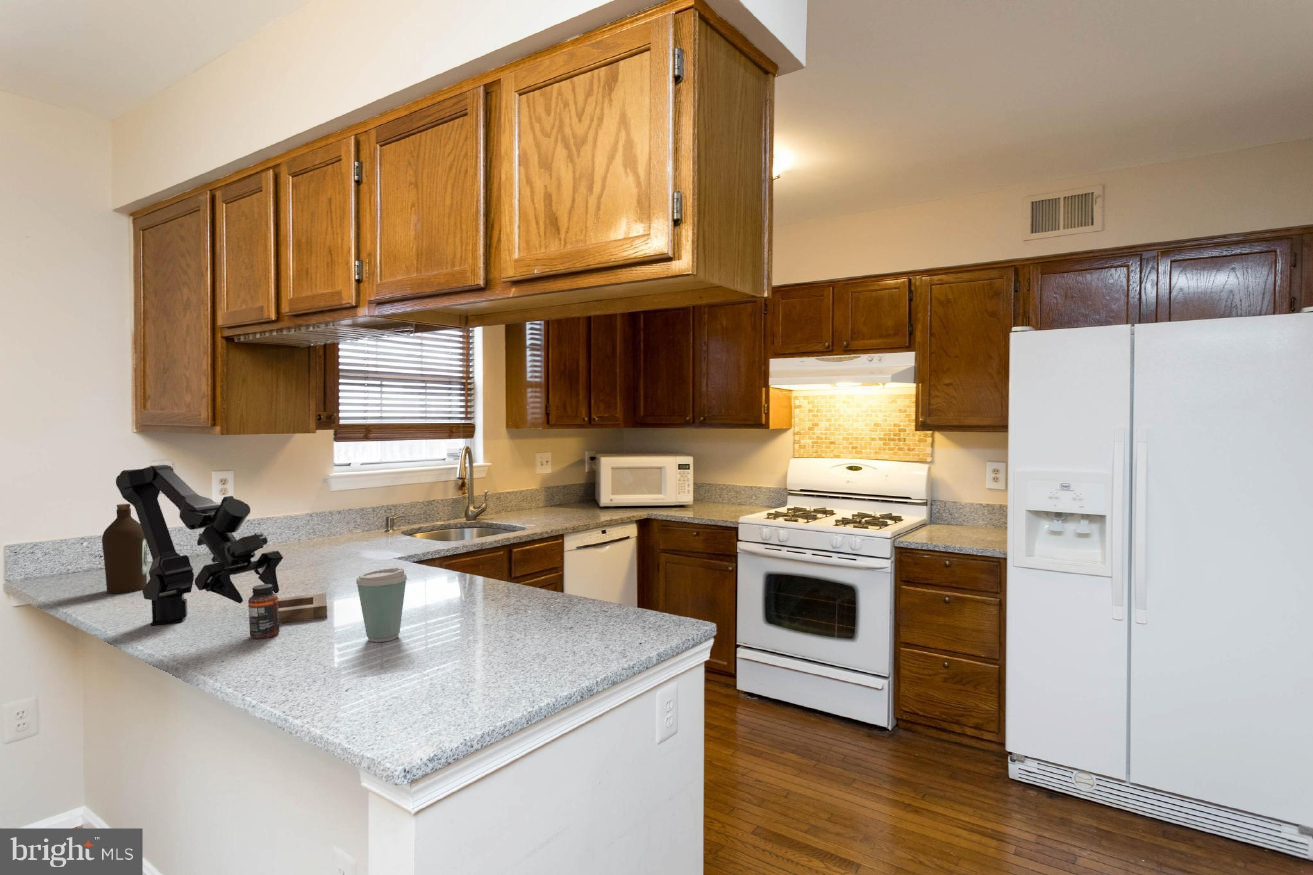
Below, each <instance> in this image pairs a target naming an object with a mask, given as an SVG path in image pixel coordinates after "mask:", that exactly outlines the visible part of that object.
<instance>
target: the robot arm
mask: <svg viewBox="0 0 1313 875" xmlns="http://www.w3.org/2000/svg"><path fill="white" fill-rule="evenodd" d="M115 485H116V487H117V489H118V491H119V493H120V495H121V497H122V499H124V500H125V501H127V502H128V504H130V505H131V506H133V507H134V510H135V512H136V515H137V518H138V521H139V523H140V524H141V527H142V530H143V533H144V536H145V539H146V542H147V548H148V549H149V552H150V556H151V558H152V562H151V565H150V567H149V571H148V574H149V580H147V584H146V586H145V587H144V589H143V590H141V591H142V595H143V599H144V600H149V601H151V622H150V626H156V625H164V624H175V623H181V622H184V620H185V619H186V618H187V616H188V614H189V613H188V599H187V598H185V594H188V593H192V588H193V584H194V585H195V587H197V588H196V589H198V591H203V590H205V591H206V592H211V593H214V594H217V595H220V596H222V597H224V598H227V599H229V600H231V601H233V602H234V603H237V604H242V603H243V602H244V599H243V597H242V595H241V593H240V592H239V590H238V589H237V587H236V586H235V584H234V583H233V581H232V579H231V576H234V575H239V574H243V573H247V572H251V571H253V572H254V573H255V575H258V577H257V579H258V580H259V581H261V582H262V584H271V585H272V587H273V591H272V592H273V593H275V594H279V592H280V588H279V583H278V579H277V577H278V576H277V567H278V566H279V565H280V563H281V562H282V560H283V559H284V556H283V555H282V554H281V552H280V551H279V550H271V551H268V552H267V551H266V552H262V553H261V554H260V555H259V557H258V559H257V560H253V561H252V559H253V558H254V557H256V553H255V552H257V551H258V550H260V549H263V548H264V546H266V545H267V544H268V541H269V540H268V538H267V535H265V533H264V532H263V531H259V532H254V534H252V535H246V536H243V537H241V538H238V539H237V538H236V536H235V535H234V534H233V533H236V532H237V531H239V530H240V529H241V527H242V525H243V524H244V522H245V521H246V519H247V517H248V516H249V515H250V514H251V507H250V505H249V504H248V503H245V502H244V501H243V500H240V499H237V498H235V497H234V496H233V495H228V496H223V498H222V499H221V502H220V504H219V503H217V502H216V501H214V500H213V499H212V498H209V497H205V496H202V495H199V494H198V493H197V492H196V491H195V490H194V489H192V487H191V486H189V485H188V484H187V483H186V482H185V480H183V479H182V478H181V477H180V476H179V475H177V473H175V471H174V469H173V467H172V466H171V465H168V464H158V465H150V466H147V467H144V468H137V469H123V470H122V471H120V473H119V475H117V476H116V478H115ZM160 493H162V494H163V495H164V496H165V497H166V498H167V499H168V500H169V501H170V502H171V503H172V504H173V505H174V506H175V507H177V509H178V510H179V515H178V516H179V519H180V520H181V522H182V523H183V525H184V526H185V527H186V528H187V529H188V530H191V531H192V530H193V531H195V530H201V529H203V530H202V532H201V533H199V534H198V538H197V543H196V544H197V546H198V547H199V546H200V547H201V546H204V545H206V547H207V548H208V550H209V551H210V553H211V554H212V558H211V559H210V560H211V562H212V563H210V564H205V565H203V567H202V568H201V569H200V571H199V572H198V574H197V575H196V577H195V572H194V568H193V566H192V564H191V561H190V557H189V556H188V555H187V554H184V555H181V554H180V553H179V552H177V550H176V548H175V545H174V542H173V539H172V536H171V533H170V531H169V528H168V525H167V522H166V520H165V517H164V514H163V511H162V509H161V505H160V502H159V499H158V498H159V496H160Z"/></svg>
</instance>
